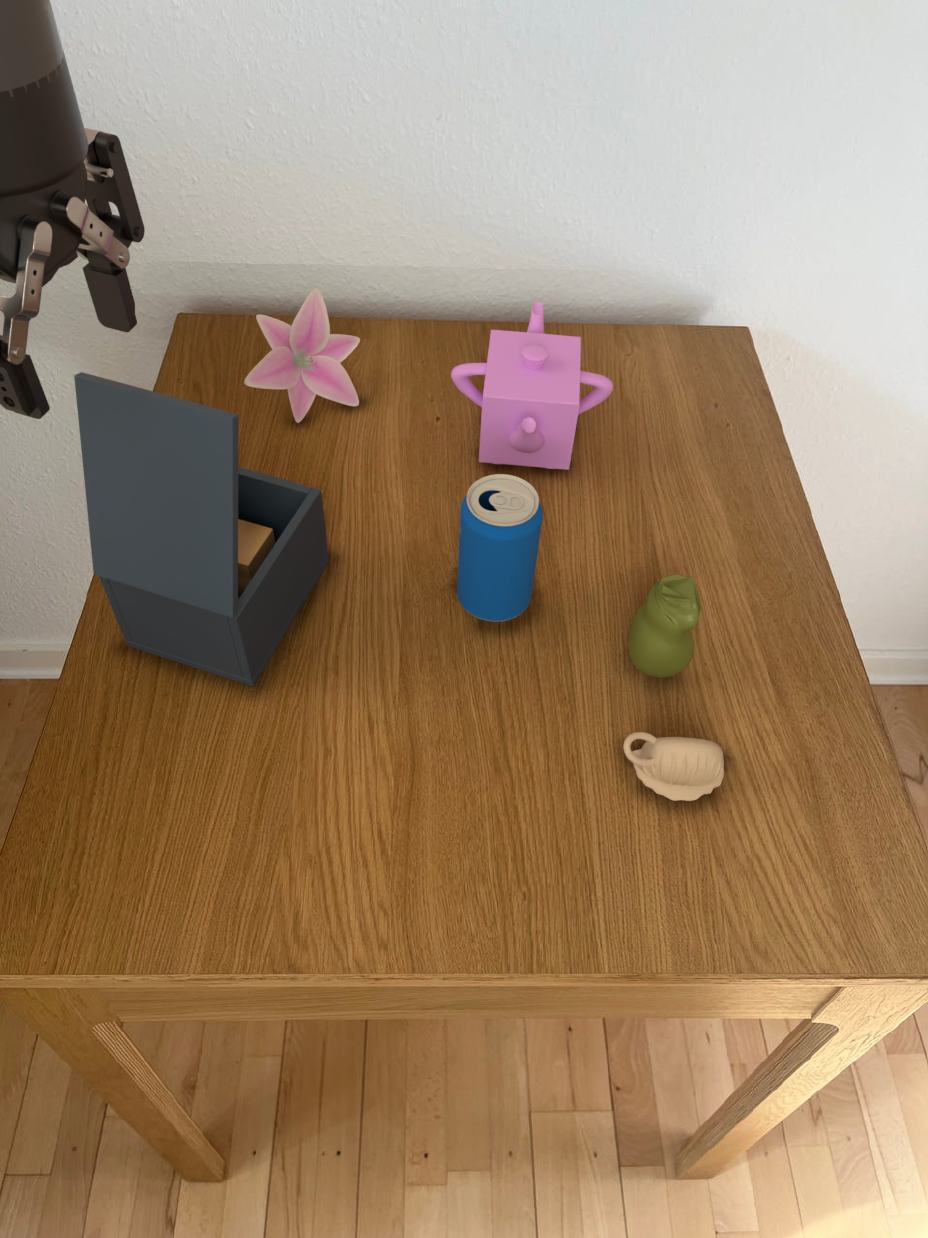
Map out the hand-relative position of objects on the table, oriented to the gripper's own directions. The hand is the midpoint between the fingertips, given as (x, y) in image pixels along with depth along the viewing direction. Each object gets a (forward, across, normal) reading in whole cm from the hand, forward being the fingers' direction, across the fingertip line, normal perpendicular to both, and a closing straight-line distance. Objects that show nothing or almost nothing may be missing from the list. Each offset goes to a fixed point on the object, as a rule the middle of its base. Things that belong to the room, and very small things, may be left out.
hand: (77, 367), depth 53 cm
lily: (+30, +36, +6) cm, 47 cm away
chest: (+30, +8, 0) cm, 31 cm away
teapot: (+30, +38, -18) cm, 51 cm away
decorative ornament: (+30, +5, -39) cm, 49 cm away
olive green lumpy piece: (+30, +15, -36) cm, 49 cm away
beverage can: (+30, +17, -21) cm, 40 cm away
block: (+29, +11, 0) cm, 31 cm away
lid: (+13, +4, 0) cm, 14 cm away
